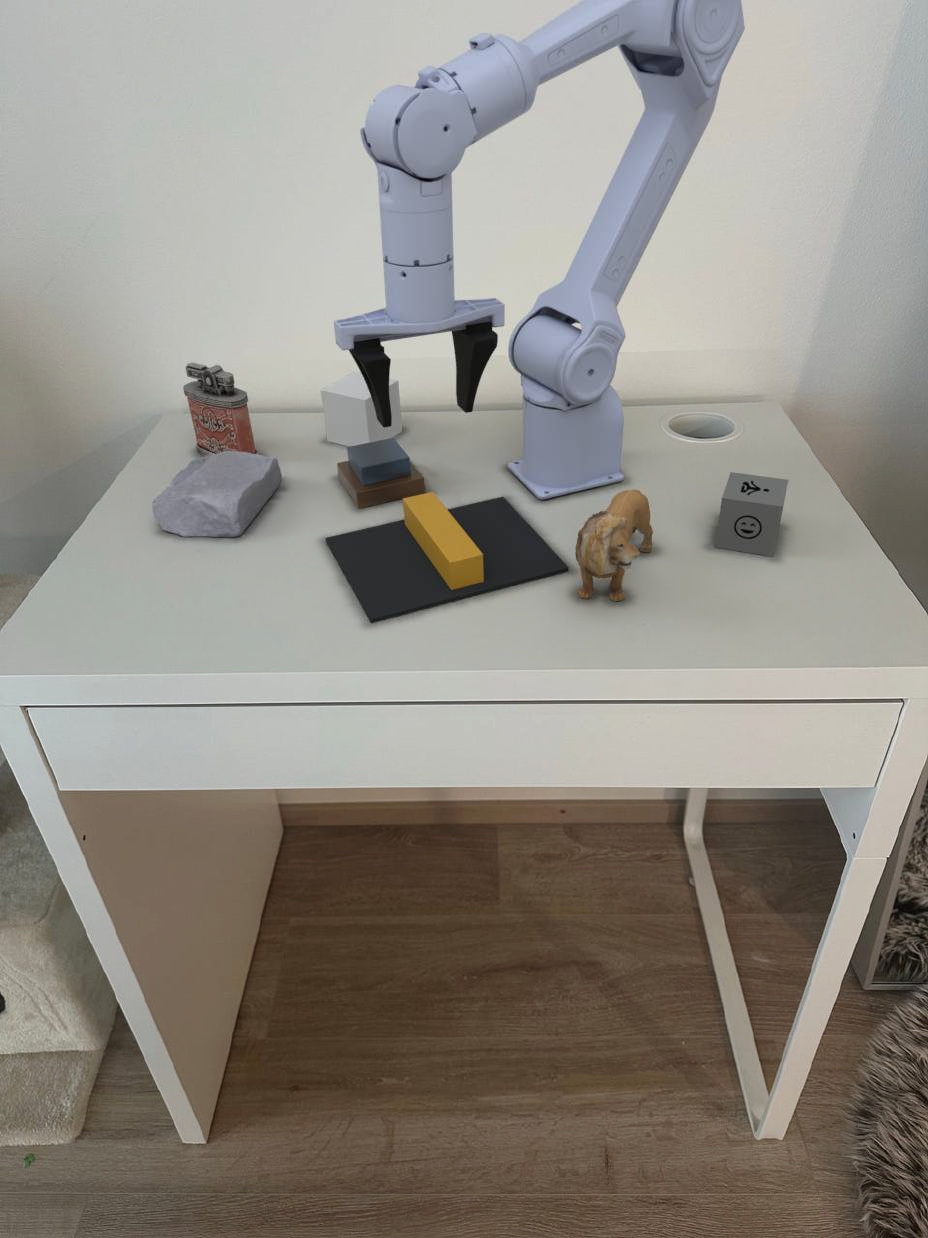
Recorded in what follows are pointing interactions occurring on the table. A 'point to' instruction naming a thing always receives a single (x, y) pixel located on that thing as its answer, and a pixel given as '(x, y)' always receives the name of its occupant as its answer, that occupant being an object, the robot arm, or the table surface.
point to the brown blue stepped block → (379, 473)
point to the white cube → (357, 412)
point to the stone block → (217, 494)
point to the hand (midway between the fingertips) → (425, 415)
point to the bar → (443, 541)
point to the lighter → (218, 411)
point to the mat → (408, 581)
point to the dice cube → (751, 513)
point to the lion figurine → (613, 542)
